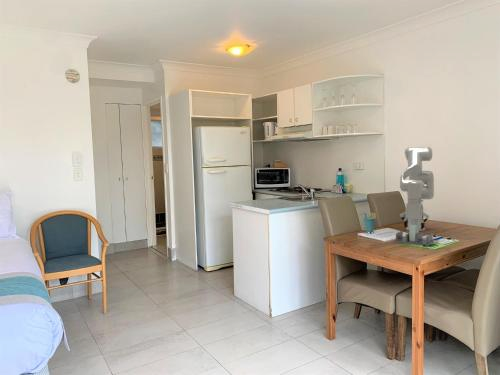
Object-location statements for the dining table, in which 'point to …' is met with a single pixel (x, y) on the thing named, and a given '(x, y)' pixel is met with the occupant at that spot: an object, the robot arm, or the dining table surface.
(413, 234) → the pale green rectangular prism
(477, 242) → the dining table surface
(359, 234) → the dining table surface
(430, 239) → the rack
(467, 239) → the dining table surface
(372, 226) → the cup
